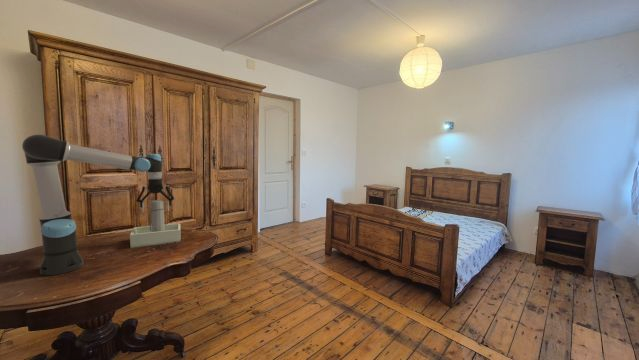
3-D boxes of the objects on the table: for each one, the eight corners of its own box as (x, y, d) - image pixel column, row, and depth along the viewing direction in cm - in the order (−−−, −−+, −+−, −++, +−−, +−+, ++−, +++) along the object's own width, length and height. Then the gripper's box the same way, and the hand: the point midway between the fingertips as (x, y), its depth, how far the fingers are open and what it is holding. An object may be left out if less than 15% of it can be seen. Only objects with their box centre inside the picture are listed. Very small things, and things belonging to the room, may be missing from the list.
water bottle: (167, 237, 173) (167, 200, 170) (159, 241, 165) (158, 202, 163) (154, 236, 174) (153, 199, 171) (145, 240, 166) (144, 201, 164)
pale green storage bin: (130, 247, 156) (129, 234, 155) (134, 239, 171) (134, 227, 170) (180, 241, 169) (180, 229, 168) (180, 234, 183) (180, 223, 182)
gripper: (129, 179, 156) (131, 214, 158) (177, 178, 168) (178, 211, 170) (131, 178, 163) (133, 211, 165) (177, 177, 174) (178, 208, 177)
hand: (156, 211), depth 168 cm, fingers open, 13 cm apart
